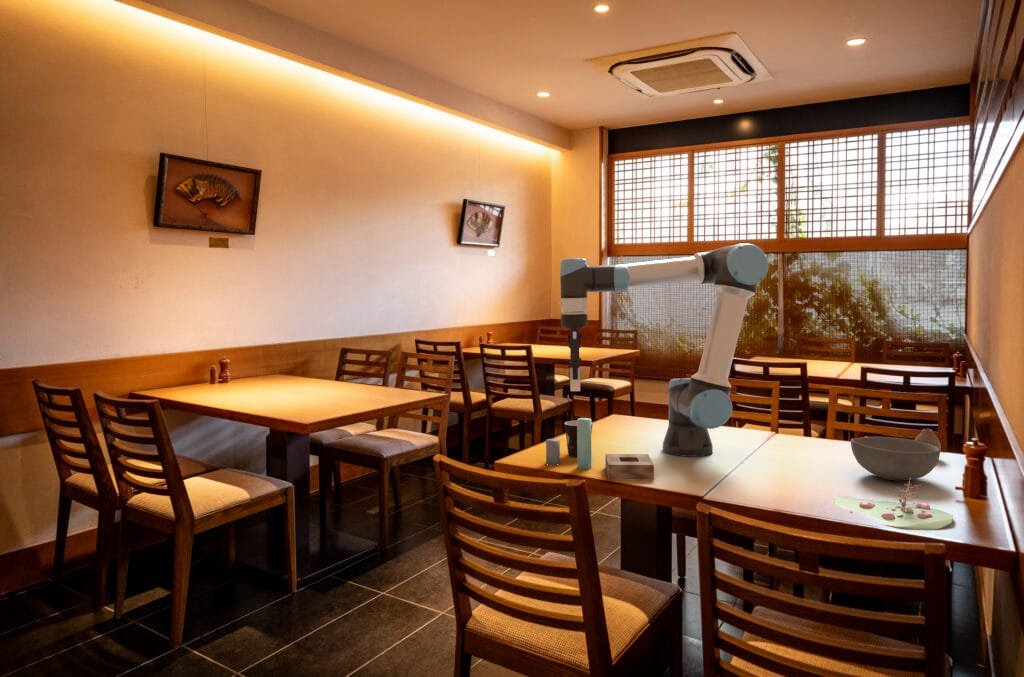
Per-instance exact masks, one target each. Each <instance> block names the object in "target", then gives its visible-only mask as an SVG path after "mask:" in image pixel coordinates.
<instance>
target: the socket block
mask: <svg viewBox="0 0 1024 677" xmlns="http://www.w3.org/2000/svg"><path fill="white" fill-rule="evenodd" d="M604 459H605V463H604V464H605V465H604V466H605V471H606V474H607V479H608V480H615V479H634V481H636V480H637V481H641V480H642V481H644V480H645V481H653V480H655V464H654V463H653V460H652V459H651V457H650V455H649V454H647V453H645V454H644V453H605V458H604ZM635 479H636V480H635Z"/></svg>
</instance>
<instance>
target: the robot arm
mask: <svg viewBox="0 0 1024 677" xmlns="http://www.w3.org/2000/svg"><path fill="white" fill-rule="evenodd" d="M587 262H588V261H587V259H586V258H577V257H576V258H563V259H562V260H561V262H560V272H559V273H560V274H559V278H560V279H559V281H560V282H559V283H560V286H559V287H560V301H558V305H559V306H560V312H561V313H562V314H561V315H560V326H561V327H562V328H565V329H566V328H570V329H569V333H567V341H568V348H569V350H570V352H569V353H570V356H569V358H570V359H569V360H570V362H569V364H567V368H568V369H569V373H570V374H569V377H570V378H569V382H570V383H569V384H570V386H569V388H570V392H581V362H582V357H580V348H581V347H582V345H581V344H582V333H581V332H580V330H579V328H587V327H588V326H589V325H588V324H589V323H588V314H587V312H588V310H589V309H588V292H589V293H598V292H599V293H600V292H603V293H605V292H608V293H609V292H615V293H617V292H624V291H627V290H628V289H634V288H644V287H654V286H664V285H672V284H673V285H674V284H683V283H692V282H693V283H696V284H697V285H705V284H709V285H712V284H713V287H714V288H715V290H716V292H717V296H716V297H715V298H716V299H715V303H714V307H713V311H712V315H711V319H710V322H709V326H708V330H707V333H706V334H707V335H706V339H705V343H704V347H703V351H702V355H701V358H700V362H699V367H698V371H697V372H696V373H694V374H693V375H691V377H688V378H685V377H684V378H672V379H670V380H669V383H668V388H667V391H668V427H667V429H666V433H665V435H664V438H663V441H662V451H663V452H665V453H667V454H671V455H675V456H683V457H703V456H709V455H711V454H712V453H713V443H712V438H711V435H710V432H709V429H711V430H712V429H713V430H714V429H717V428H719V427H722V426H723V425H724V424H726V423H727V422H728V421H729V419H730V417H731V415H732V413H733V402H732V400H731V398H730V394H731V391H732V385H731V383H730V382H729V376H730V371H731V368H732V363H733V361H734V360H733V359H734V355H735V352H736V347H737V345H738V340H739V336H740V332H741V328H742V324H743V320H744V316H745V313H746V308H747V304H748V300H749V299H750V298H752V297H753V296H755V294H756V291H757V289H758V288H757V287H758V284H759V283H760V282H762V281H763V280H764V279H765V278H766V276H767V274H768V271H769V259H768V256H767V254H766V253H765V252H764V250H763V249H762V248H761V247H760V246H757V245H755V244H752V243H737V244H734V245H727V246H726V245H725V246H722V247H719V248H716V249H713V250H708V251H704V252H703V251H702V252H695V253H694V254H693V255H692V256H688V257H679V258H671V259H660V260H659V259H658V260H651V261H650V260H649V261H640V262H630V263H622V264H605V265H604V264H601V265H599V264H598V265H588V263H587Z"/></svg>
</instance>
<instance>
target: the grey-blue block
mask: <svg viewBox="0 0 1024 677" xmlns="http://www.w3.org/2000/svg"><path fill="white" fill-rule="evenodd" d="M560 442H561V440H560V439H558V438H547V439H546V440H545V465H547V464H548V465H547V466H550V465H556V466H558V465H557V464H559V465H560V464H561V457H560V456H561V450H560V449H561V446H560V444H561V443H560Z"/></svg>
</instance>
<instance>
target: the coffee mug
mask: <svg viewBox="0 0 1024 677" xmlns="http://www.w3.org/2000/svg"><path fill="white" fill-rule="evenodd" d="M593 425H594V424H593V421H591V435H592V434H593ZM564 429H565V430H564V431H565V439H566V448H567V456H568V457H571V458H576V459H577V420H569V421H565V422H564Z"/></svg>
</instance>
